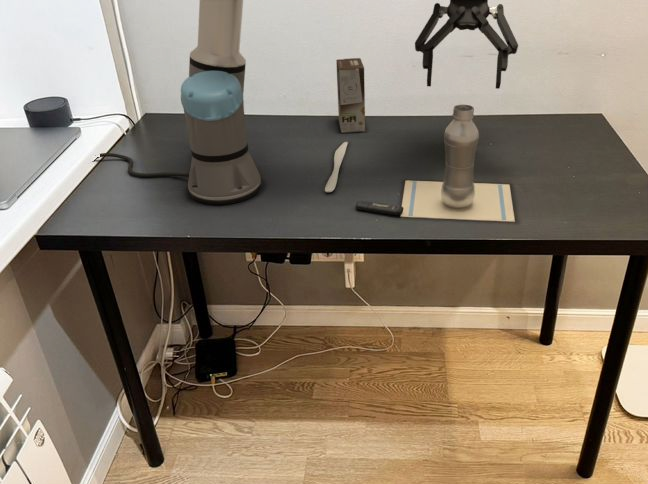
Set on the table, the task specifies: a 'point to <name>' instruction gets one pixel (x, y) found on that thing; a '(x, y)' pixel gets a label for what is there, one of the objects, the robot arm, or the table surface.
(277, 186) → the table surface
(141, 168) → the table surface
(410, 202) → the dish towel
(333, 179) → the butter knife
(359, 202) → the usb stick
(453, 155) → the plastic bottle
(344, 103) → the coffee box
